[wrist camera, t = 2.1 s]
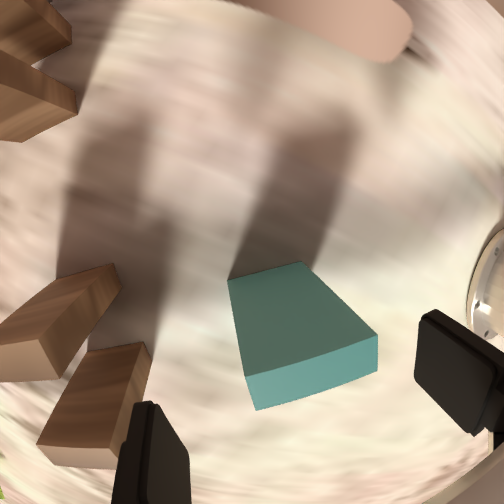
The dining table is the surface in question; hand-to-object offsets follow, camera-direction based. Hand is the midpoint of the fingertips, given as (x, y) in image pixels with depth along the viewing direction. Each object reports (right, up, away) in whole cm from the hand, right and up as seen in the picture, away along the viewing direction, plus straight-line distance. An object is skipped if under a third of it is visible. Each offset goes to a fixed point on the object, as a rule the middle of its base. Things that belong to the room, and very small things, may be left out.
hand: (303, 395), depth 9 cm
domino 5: (-1, +3, +11) cm, 11 cm away
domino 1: (-17, +19, +4) cm, 26 cm away
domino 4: (-12, -3, +11) cm, 16 cm away
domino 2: (-16, +14, +6) cm, 22 cm away
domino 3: (-13, +2, +9) cm, 16 cm away
